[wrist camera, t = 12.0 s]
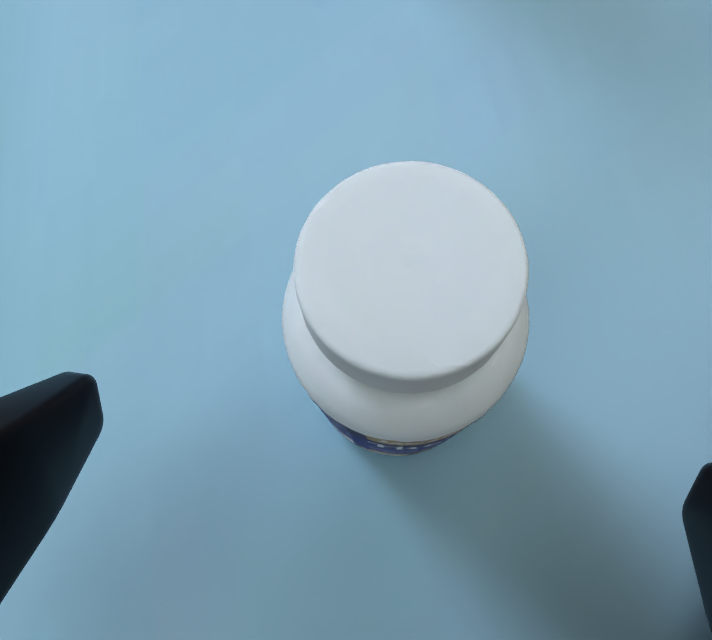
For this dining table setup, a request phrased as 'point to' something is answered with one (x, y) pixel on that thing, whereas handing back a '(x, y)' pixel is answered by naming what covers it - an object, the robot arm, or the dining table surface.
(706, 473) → the robot arm
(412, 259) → the pill bottle
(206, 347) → the dining table surface
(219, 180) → the dining table surface
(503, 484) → the dining table surface
